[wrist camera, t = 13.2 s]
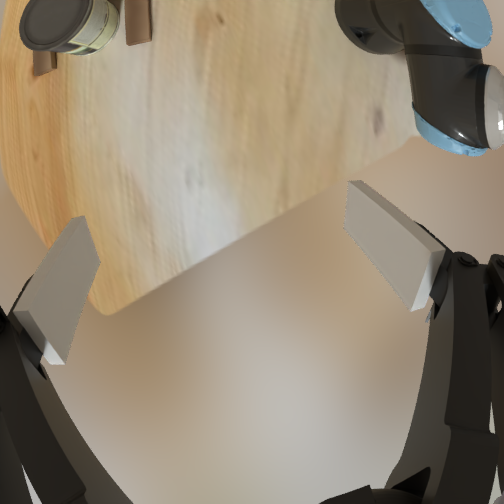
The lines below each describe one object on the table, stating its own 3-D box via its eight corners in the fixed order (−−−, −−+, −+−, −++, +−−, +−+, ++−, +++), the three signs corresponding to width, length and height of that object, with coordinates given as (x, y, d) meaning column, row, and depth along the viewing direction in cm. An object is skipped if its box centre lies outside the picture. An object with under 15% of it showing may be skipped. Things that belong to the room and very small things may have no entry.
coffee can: (73, 68, 32) (30, 67, 21) (55, 23, 27) (11, 11, 15) (129, 35, 32) (102, 18, 20) (109, -11, 26) (79, -38, 14)
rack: (148, -39, 24) (145, -47, 21) (151, 41, 33) (147, 37, 30) (38, -2, 22) (29, -5, 19) (40, 75, 31) (29, 76, 28)
